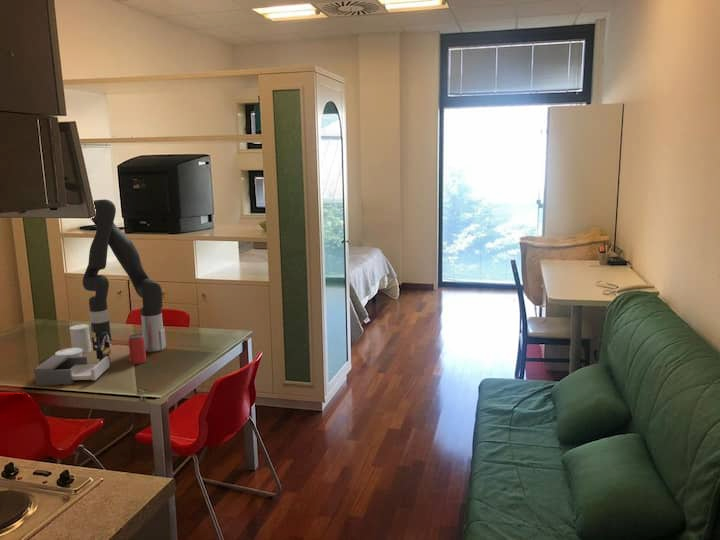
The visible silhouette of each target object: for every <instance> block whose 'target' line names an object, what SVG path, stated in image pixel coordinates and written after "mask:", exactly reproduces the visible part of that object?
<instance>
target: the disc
mask: <svg viewBox="0 0 720 540" xmlns="http://www.w3.org/2000/svg"><path fill="white" fill-rule="evenodd" d="M111 349H112V348H111V347H104V346H102V355H103V356H105V355H110V354H112V350H111ZM96 356H97V354H96Z"/></svg>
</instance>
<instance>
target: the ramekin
mask: <svg viewBox="0 0 720 540" xmlns="http://www.w3.org/2000/svg"><path fill="white" fill-rule="evenodd" d="M82 352H83V351H82V349H81V348H72V347H68V348H63V349H61V350H58V351H56V352H55V353H54V355H70V357H83V354H82Z"/></svg>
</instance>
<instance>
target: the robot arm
mask: <svg viewBox="0 0 720 540" xmlns="http://www.w3.org/2000/svg"><path fill="white" fill-rule="evenodd" d="M93 201H94V205H95V209H96V216H95V217H94V218H92V219H91V218H90V220H91V221H92V222H93V224H94V225H95V226H96V231H95V234H94V238H93V240H92V242H91V245H90V248H89V253H88V263H87V267H86V269H85V272H84V274H83V277H82V286H83V289H85V290H86V291H89V292H95V294H94V295H93V296H91V297H89V299H88V307H89V319H90V328H91V332H92V333H94V334H95V336H93V337H92V338H91V340H92V351H93V352H95V353H96V354H97V355H96V359H97V360H99V359H102V358H103V355H102V347H110V344H111V342H112V340H113V339H112V333H111V332H112V331H111V324H110V315H109V310H108V303H107V299H108V293H109V289H110V288H109V287H110V283H109V279H108V278H107V276H105V275H101V274H99V271H100V270H104V269H106V268H107V261H108V259H107V258H108V251H109V250H108V249H109V248H110V249H111V251H112V253H113V255H114V256H115V258H116V260H117V261H118V262H119V264H120V266H121V267H122V269H123V271H125V273H126V274H127V276H128V277H129V279H130V282H131V283H132V285H133V287H134V290H135V293H136V294H137V296H138V297H140V298H142V307H141V308H140V318H141V319H140V320H141V327H142V328H141V329H142V335H143V338H144V341H145V351H146V352H151V353H152V352H153V353H154V352H158V351H164V349H165V348H166V347H167V341H166V330H165V327H164V325H163V323H164V322H163V313H162V308H163V292H162V291H163V290H162V286H161V284H160V283H158V282H157V281H155V280H153V279H151V278H150V277H149V276H148V274H147V273H146V271H145V269H144V268H143V265H142V261H141V258H140V254H139V251H138V250H137V248H136V246H135V245H134V243H133V241H132V240H131V239H130V237H129V236H127V235H126V233H124V232H123V231H122V230H121V229H120V228H119V227H118V226H117V225H116V223H115V222H114V221H115V217H116V212H117V210H116V205H115V203H114V202H113V201H112V200H109V199H95V200H93ZM110 348H111V347H110Z"/></svg>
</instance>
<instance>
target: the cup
mask: <svg viewBox="0 0 720 540" xmlns="http://www.w3.org/2000/svg"><path fill="white" fill-rule="evenodd" d="M68 328H69V334H70V335H69V336H70V342H71V348H81V349H82V351H83V352H82V355H83V354H87V353H88V354H89V353H90V352H91V351H92V343H91V334H90V326H89V324H86V323H85V324H83V323H82V324H76V325H72V326H70V327H68Z"/></svg>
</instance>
